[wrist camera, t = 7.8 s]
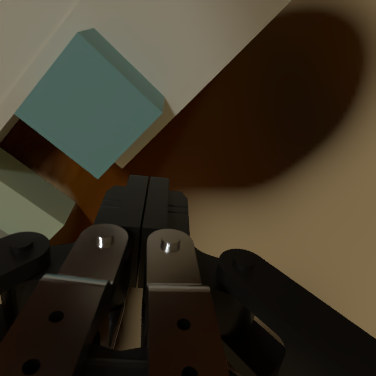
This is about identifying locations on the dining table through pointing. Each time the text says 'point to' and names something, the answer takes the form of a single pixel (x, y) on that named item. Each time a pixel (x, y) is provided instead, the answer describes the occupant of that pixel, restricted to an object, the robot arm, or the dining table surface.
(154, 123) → the tray
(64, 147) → the block
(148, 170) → the dining table surface
